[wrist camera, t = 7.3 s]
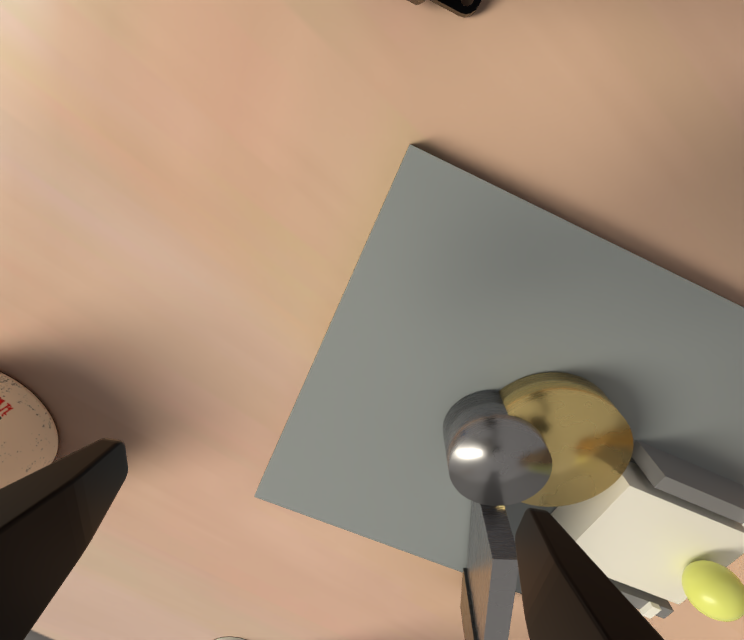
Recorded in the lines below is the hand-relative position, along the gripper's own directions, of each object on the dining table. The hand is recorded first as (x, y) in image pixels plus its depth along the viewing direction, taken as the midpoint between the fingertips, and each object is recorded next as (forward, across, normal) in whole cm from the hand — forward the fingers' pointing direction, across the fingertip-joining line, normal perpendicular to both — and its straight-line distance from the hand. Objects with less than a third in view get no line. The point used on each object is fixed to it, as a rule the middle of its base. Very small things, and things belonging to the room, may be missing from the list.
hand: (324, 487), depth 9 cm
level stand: (+12, -11, +7) cm, 18 cm away
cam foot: (+11, -17, +10) cm, 23 cm away
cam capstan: (+11, -11, +11) cm, 19 cm away
